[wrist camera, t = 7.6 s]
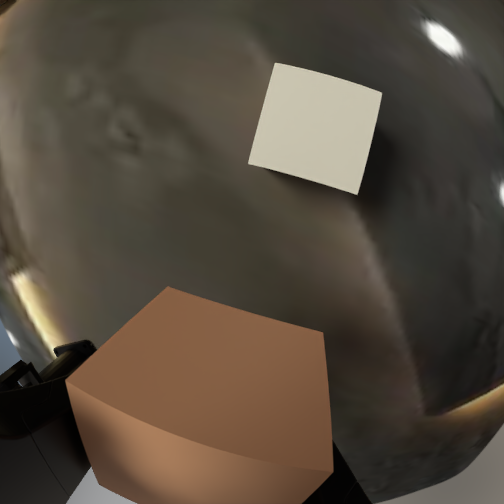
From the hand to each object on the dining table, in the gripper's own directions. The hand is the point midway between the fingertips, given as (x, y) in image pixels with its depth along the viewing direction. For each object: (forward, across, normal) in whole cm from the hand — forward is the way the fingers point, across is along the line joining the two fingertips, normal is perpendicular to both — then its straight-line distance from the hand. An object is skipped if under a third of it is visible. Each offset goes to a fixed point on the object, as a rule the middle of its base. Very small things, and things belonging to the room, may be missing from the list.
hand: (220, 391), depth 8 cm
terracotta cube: (+1, 0, 0) cm, 1 cm away
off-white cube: (+11, -1, -9) cm, 14 cm away
